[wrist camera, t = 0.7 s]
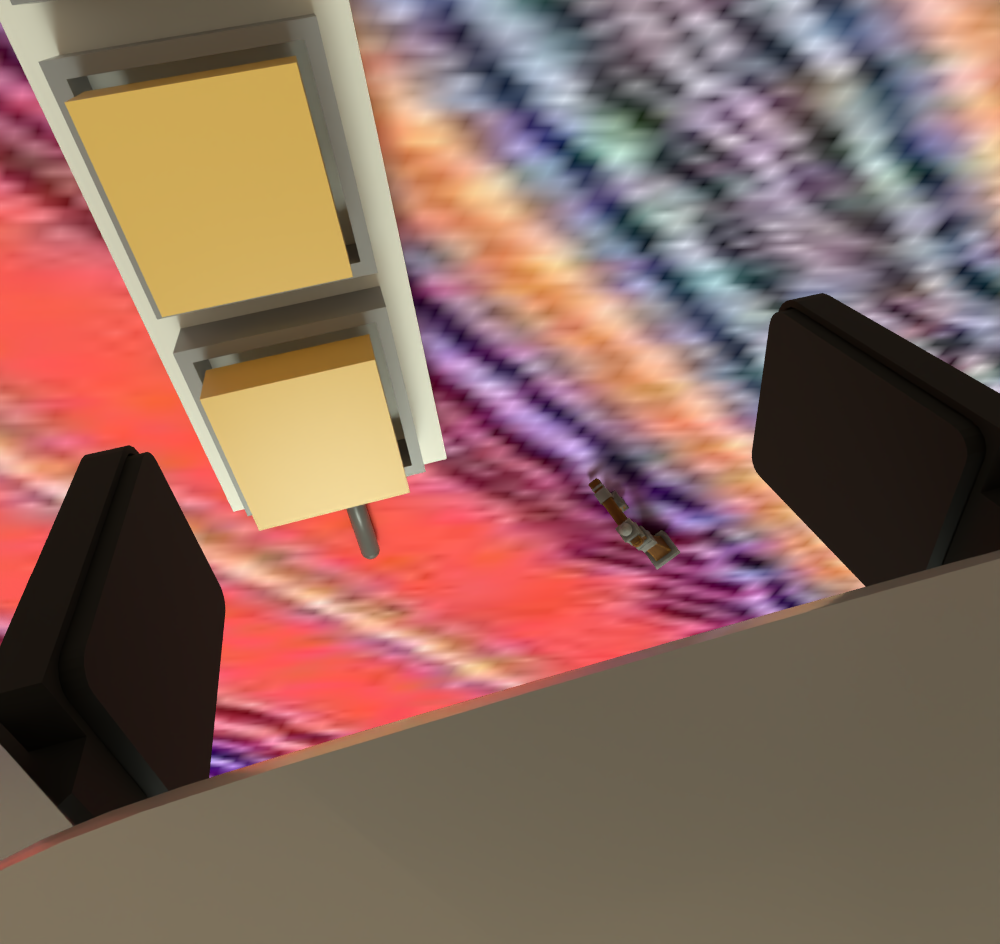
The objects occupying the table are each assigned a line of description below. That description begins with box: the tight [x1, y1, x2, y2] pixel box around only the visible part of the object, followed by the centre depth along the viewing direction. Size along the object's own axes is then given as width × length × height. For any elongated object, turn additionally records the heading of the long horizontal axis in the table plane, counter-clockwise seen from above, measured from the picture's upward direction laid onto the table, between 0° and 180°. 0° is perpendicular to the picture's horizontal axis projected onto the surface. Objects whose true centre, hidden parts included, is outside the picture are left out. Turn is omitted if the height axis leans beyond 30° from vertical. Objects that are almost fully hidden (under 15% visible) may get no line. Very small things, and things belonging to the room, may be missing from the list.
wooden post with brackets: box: [589, 478, 680, 569], centre depth 40 cm, size 2×8×4 cm, turn 39°
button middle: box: [64, 56, 353, 317], centre depth 21 cm, size 6×6×2 cm
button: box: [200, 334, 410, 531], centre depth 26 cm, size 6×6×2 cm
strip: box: [0, 0, 447, 559], centre depth 26 cm, size 10×35×5 cm, turn 7°
